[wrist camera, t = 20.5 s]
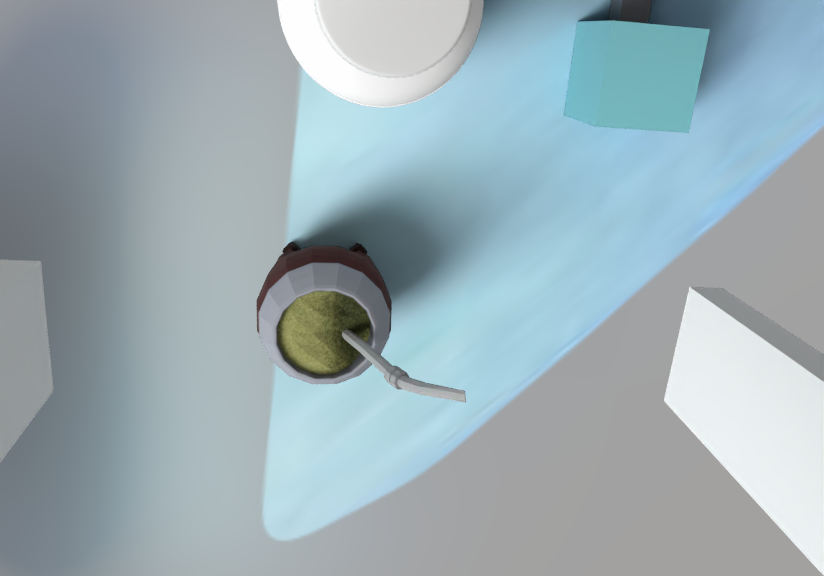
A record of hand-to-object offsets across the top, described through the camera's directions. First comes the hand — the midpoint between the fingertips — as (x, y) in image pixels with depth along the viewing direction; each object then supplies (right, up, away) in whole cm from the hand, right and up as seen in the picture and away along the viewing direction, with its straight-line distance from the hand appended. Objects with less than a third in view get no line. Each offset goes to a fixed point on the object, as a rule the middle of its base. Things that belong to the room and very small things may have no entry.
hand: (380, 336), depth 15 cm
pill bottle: (-2, +16, +23) cm, 28 cm away
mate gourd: (-4, +2, +28) cm, 28 cm away
